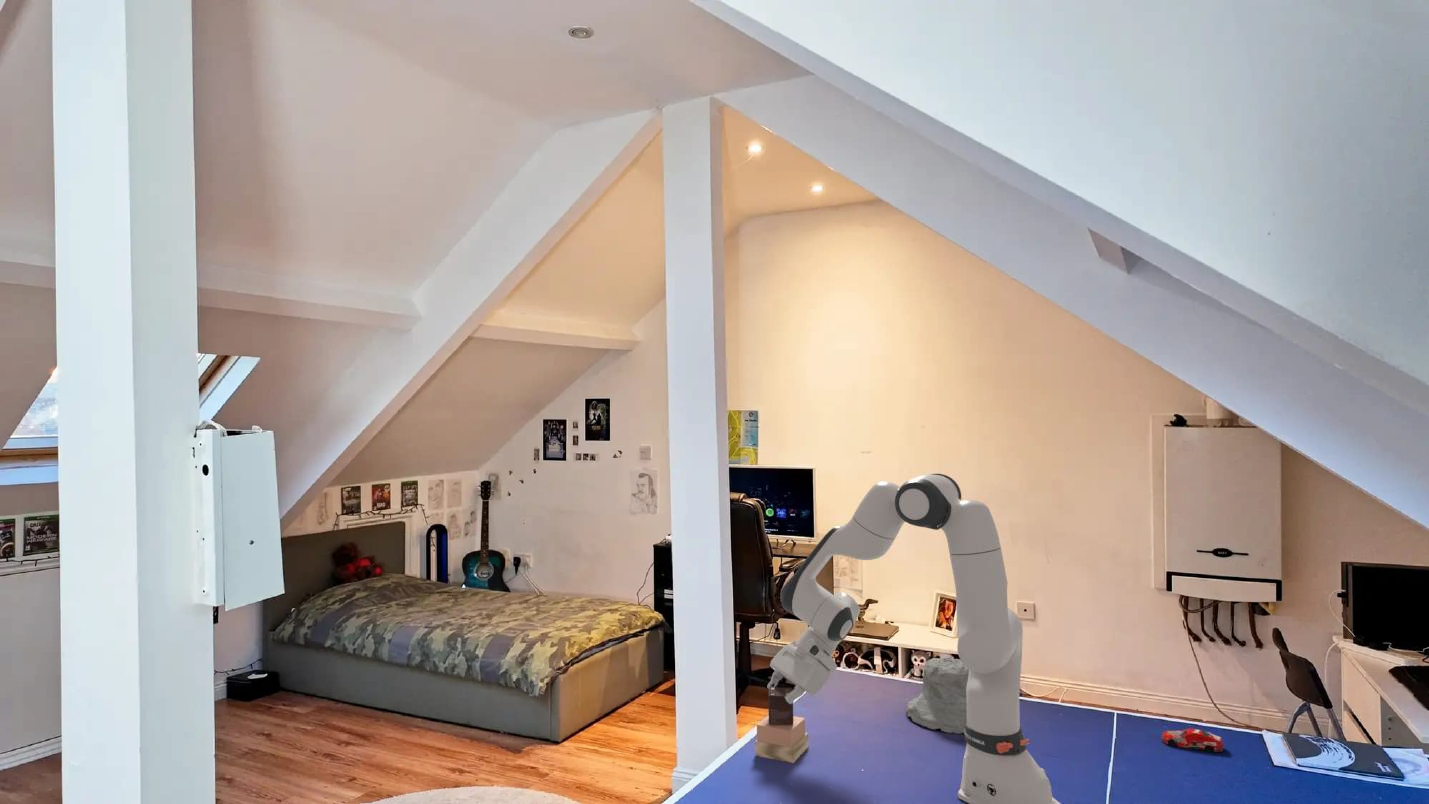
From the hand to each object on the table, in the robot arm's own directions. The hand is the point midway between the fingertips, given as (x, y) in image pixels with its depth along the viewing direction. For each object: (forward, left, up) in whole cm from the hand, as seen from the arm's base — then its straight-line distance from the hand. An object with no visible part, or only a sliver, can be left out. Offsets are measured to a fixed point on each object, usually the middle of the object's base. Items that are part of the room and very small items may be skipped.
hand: (778, 695), depth 206 cm
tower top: (0, 0, -10) cm, 10 cm away
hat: (0, -53, -14) cm, 54 cm away
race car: (-40, -93, -14) cm, 102 cm away
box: (0, -1, -7) cm, 7 cm away
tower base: (0, -1, -14) cm, 14 cm away
